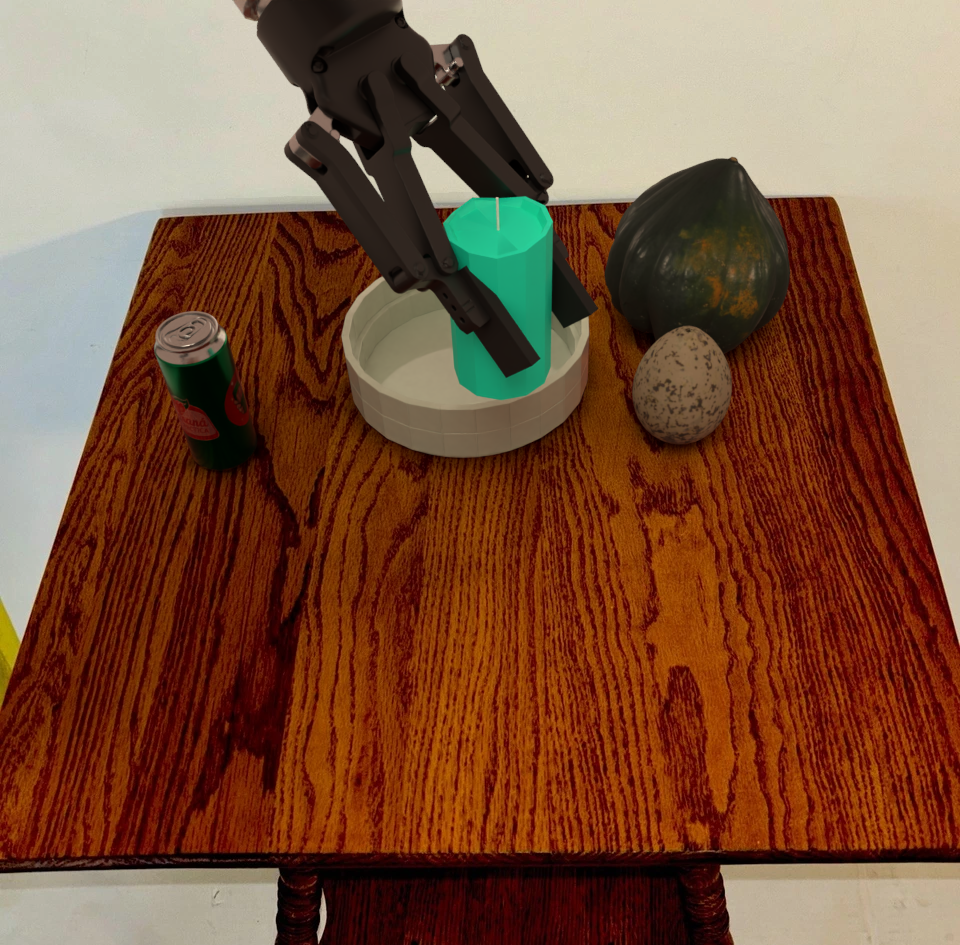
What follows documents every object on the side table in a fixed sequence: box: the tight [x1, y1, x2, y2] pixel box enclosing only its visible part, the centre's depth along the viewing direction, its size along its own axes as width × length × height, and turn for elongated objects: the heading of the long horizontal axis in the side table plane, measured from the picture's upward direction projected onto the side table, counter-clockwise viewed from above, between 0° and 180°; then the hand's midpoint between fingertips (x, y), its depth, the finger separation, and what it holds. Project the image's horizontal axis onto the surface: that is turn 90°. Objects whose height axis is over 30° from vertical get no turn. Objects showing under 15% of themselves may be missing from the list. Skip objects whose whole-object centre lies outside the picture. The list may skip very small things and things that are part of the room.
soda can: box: [153, 310, 258, 472], centre depth 76 cm, size 5×5×12 cm
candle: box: [442, 196, 554, 400], centre depth 60 cm, size 6×6×12 cm
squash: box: [604, 156, 791, 355], centre depth 84 cm, size 14×15×15 cm
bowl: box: [340, 275, 590, 459], centre depth 83 cm, size 19×19×6 cm
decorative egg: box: [631, 326, 733, 445], centre depth 76 cm, size 7×7×10 cm
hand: (552, 342), depth 60 cm, fingers closed on candle, 5 cm apart
